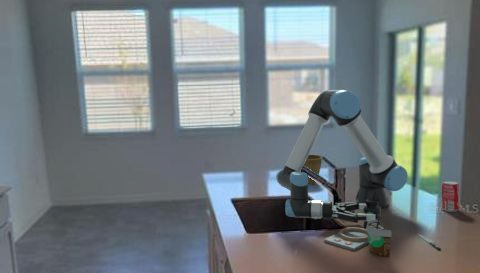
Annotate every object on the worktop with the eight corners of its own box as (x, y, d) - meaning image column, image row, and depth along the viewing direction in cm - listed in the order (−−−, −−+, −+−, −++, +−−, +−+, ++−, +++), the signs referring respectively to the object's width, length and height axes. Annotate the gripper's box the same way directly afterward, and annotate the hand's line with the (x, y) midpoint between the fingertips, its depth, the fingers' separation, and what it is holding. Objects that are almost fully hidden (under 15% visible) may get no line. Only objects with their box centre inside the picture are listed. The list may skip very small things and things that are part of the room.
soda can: (460, 212, 188) (461, 184, 187) (443, 212, 190) (444, 184, 188) (456, 207, 195) (457, 180, 193) (439, 207, 197) (440, 180, 195)
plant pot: (297, 180, 259) (296, 154, 257) (321, 180, 257) (321, 154, 255) (296, 186, 245) (296, 159, 242) (323, 186, 242) (322, 159, 240)
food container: (360, 246, 156) (360, 220, 154) (376, 245, 156) (377, 219, 155) (373, 260, 143) (374, 232, 142) (391, 259, 144) (391, 230, 143)
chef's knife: (420, 233, 168) (413, 232, 168) (420, 230, 168) (413, 230, 168) (446, 251, 149) (438, 251, 149) (447, 248, 149) (439, 248, 149)
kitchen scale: (324, 241, 161) (324, 236, 161) (349, 229, 172) (349, 224, 172) (354, 251, 152) (354, 245, 151) (378, 237, 163) (378, 232, 163)
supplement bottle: (371, 232, 169) (372, 203, 167) (359, 227, 175) (359, 199, 173) (384, 229, 172) (384, 200, 170) (372, 224, 178) (372, 196, 176)
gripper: (325, 209, 190) (375, 212, 184) (319, 228, 167) (375, 232, 160) (325, 193, 189) (375, 195, 183) (318, 210, 166) (375, 213, 159)
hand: (375, 212), depth 172 cm, fingers open, 13 cm apart
